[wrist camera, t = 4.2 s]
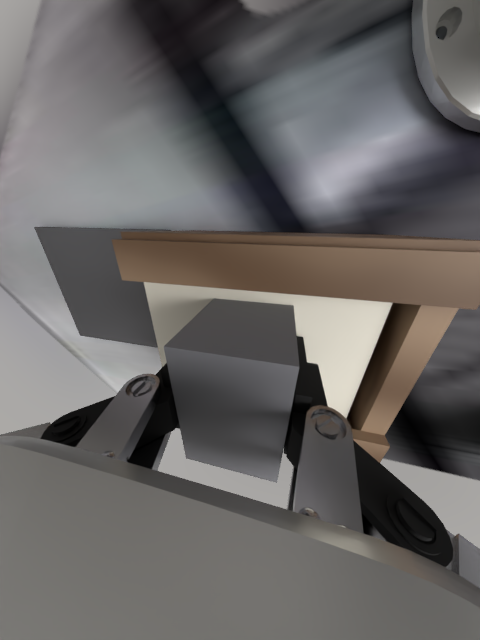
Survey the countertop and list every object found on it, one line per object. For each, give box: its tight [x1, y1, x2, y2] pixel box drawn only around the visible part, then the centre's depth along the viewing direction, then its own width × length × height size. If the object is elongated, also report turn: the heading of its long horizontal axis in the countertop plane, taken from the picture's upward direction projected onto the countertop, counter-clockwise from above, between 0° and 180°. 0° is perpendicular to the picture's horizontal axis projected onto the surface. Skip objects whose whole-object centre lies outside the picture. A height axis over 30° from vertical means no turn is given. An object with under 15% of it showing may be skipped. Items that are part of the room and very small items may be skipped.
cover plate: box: [144, 282, 392, 482], centre depth 9 cm, size 9×12×6 cm
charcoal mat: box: [34, 227, 171, 348], centre depth 19 cm, size 12×14×1 cm
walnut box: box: [111, 230, 480, 463], centre depth 13 cm, size 12×14×8 cm
